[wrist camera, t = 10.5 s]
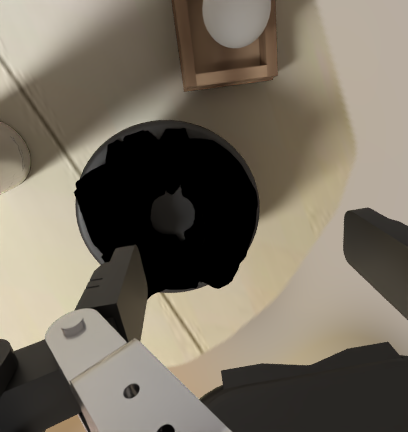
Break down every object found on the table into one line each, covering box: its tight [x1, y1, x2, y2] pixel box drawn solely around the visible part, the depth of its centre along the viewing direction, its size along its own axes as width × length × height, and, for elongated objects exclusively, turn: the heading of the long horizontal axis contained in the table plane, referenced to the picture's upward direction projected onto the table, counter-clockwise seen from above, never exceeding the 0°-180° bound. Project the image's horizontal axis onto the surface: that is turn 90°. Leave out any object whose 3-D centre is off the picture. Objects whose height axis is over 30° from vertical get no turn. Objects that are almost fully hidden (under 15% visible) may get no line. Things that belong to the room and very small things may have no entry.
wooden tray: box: [172, 0, 278, 92], centre depth 34 cm, size 11×11×4 cm
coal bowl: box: [74, 120, 259, 300], centre depth 33 cm, size 20×20×19 cm
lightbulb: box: [202, 0, 271, 48], centre depth 29 cm, size 6×6×11 cm
